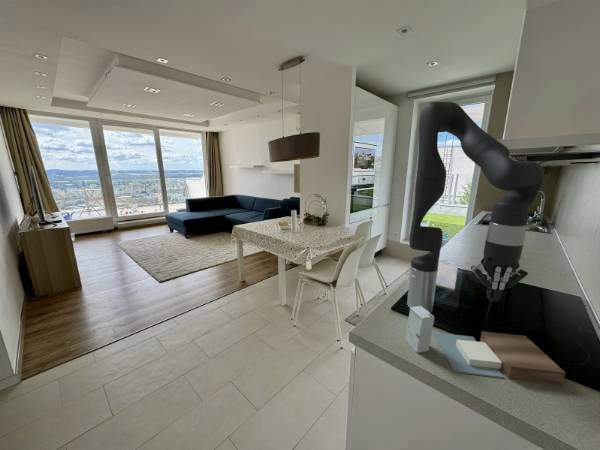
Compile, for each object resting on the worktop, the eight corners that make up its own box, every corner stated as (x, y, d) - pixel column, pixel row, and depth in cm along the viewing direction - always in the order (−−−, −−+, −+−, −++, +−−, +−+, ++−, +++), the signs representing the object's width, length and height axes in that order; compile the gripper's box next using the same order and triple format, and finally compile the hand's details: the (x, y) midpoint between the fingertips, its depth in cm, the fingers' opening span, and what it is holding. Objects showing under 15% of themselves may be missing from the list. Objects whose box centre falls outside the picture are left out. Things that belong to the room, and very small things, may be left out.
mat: (433, 333, 81) (433, 332, 81) (473, 337, 79) (473, 336, 79) (454, 371, 65) (454, 370, 65) (504, 378, 63) (504, 377, 63)
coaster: (455, 345, 75) (456, 339, 74) (484, 347, 74) (485, 342, 73) (468, 365, 67) (469, 359, 67) (500, 368, 66) (502, 362, 65)
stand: (479, 342, 77) (481, 331, 76) (522, 346, 74) (525, 335, 73) (508, 378, 63) (511, 366, 62) (561, 385, 61) (565, 372, 60)
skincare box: (404, 340, 78) (408, 306, 75) (417, 338, 79) (420, 305, 76) (417, 353, 72) (421, 318, 69) (430, 351, 73) (435, 316, 70)
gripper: (522, 237, 65) (510, 294, 69) (468, 235, 67) (460, 291, 71) (545, 245, 58) (530, 309, 62) (484, 243, 60) (473, 305, 64)
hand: (492, 299), depth 66 cm, fingers closed
